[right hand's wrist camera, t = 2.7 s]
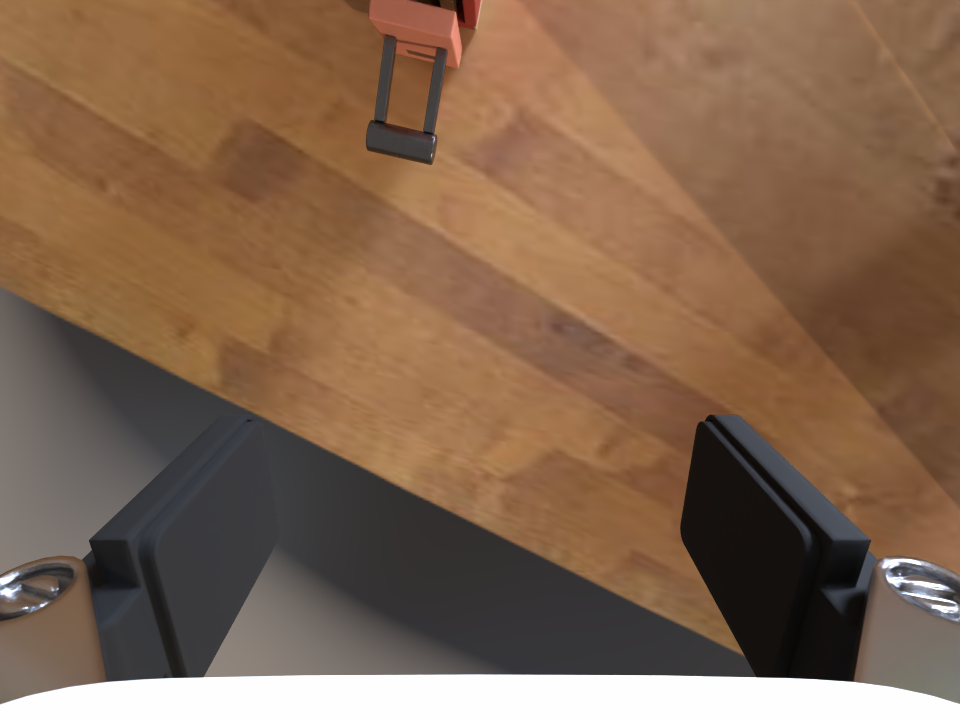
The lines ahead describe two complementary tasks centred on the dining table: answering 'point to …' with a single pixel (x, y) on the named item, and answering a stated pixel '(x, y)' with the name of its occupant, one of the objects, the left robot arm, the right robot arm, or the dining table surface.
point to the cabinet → (469, 13)
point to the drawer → (423, 35)
